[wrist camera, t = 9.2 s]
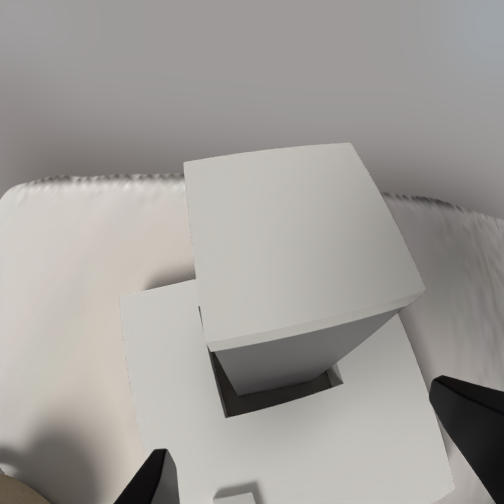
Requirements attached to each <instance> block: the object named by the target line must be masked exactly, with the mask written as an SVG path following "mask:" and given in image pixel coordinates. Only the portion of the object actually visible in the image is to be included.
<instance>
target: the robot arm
mask: <svg viewBox="0 0 504 504" xmlns="http://www.w3.org/2000/svg"><path fill="white" fill-rule="evenodd" d="M429 401H430V403H431V405H432V407H433V409H434V410H435V412H436V414H437V416H438V417H439V419H440V421H441V423H442V425H443V427H444V428H445V430H446V432H447V433H448V435H449V436H450V437H451V439H452V440H453V442H454V443H455V444H456V446H457V447H458V449H459V450H460V451H461V453H462V454H463V456H464V457H465V459H466V460H467V461H468V463H469V464H470V466H471V467H472V469H473V470H474V472H475V473H476V475H477V476H478V477H479V479H480V480H481V482H482V483H483V485H484V486H485V488H486V489H487V491H488V492H489V494H490V495H491V497H492V498H493V500H494V502H495V503H496V504H504V392H502V391H499V390H495V389H491V388H487V387H483V386H480V385H476V384H472V383H469V382H465V381H462V380H458V379H455V378H451V377H448V376H444V375H441V376H439V377H437V378H435V379H433V381H432V383H431V388H430V393H429ZM114 504H180V498H179V489H178V479H177V468H176V464H175V462H174V460H173V458H172V456H171V454H170V452H169V451H168V449H166V448H160V449H154V450H153V451H152V453H151V454H150V455H149V457H148V458H147V459H146V461H145V462H144V464H143V465H142V466H141V468H140V469H139V470H138V472H137V473H136V474H135V476H134V477H133V478H132V480H131V481H130V482H129V484H128V485H127V486H126V488H125V489H124V490H123V492H122V493H121V494H120V496H119V497H118V498H117V500H116V501H115V502H114Z"/></svg>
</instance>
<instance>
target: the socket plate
mask: <svg viewBox="0 0 504 504" xmlns="http://www.w3.org/2000/svg"><path fill="white" fill-rule="evenodd" d="M119 304H120V315H121V325H122V334H123V342H124V350H125V357H126V364H127V370H128V377H129V383H130V388H131V394H132V399H133V405H134V410H135V415H136V419H137V424H138V429H139V433H140V437H141V442H142V446H143V450H144V454H145V458H146V459H147V458H148V457H149V455H150V454H151V453H152V451H153V450H154V449H160V448H166V449H168V451H169V452H170V454H171V456H172V458H173V460H174V462H175V464H176V468H177V479H178V489H179V498H180V504H433V503H435V502H436V501H438V500H439V499H441V498H443V497H444V496H446V495H447V494H449V493H450V492H452V491H453V490H455V487H454V482H453V478H452V473H451V469H450V465H449V461H448V457H447V454H446V450H445V446H444V442H443V439H442V435H441V432H440V429H439V425H438V422H437V419H436V415H435V412H434V409H433V407H432V405H431V403H430V401H429V394H428V391H427V388H426V385H425V382H424V379H423V376H422V374H421V371H420V368H419V365H418V363H417V360H416V357H415V355H414V352H413V350H412V347H411V344H410V342H409V339H408V337H407V334H406V332H405V329H404V327H403V325H402V322H401V320H400V317H399V315H398V313H397V314H396V315H395V316H393V317H392V318H391V319H390V320H389V321H388V322H387V323H385V324H384V325H383V326H382V327H381V328H379V329H378V330H377V331H376V332H375V333H373V334H372V335H371V336H370V337H369V338H367V339H366V340H365V341H364V342H362V343H361V344H360V345H359V346H357V347H356V348H355V349H354V350H352V351H351V352H350V353H349V354H347V355H346V356H345V357H343V358H342V359H341V360H339V361H338V362H337V363H335V364H334V365H333V366H331V367H330V368H329V369H327V373H328V376H329V379H330V382H331V385H332V388H330V389H327V390H324V391H321V392H318V393H315V394H312V395H309V396H306V397H303V398H300V399H296V400H293V401H290V402H286V403H283V404H280V405H276V406H273V407H269V408H265V409H261V410H258V411H254V412H250V413H246V414H242V415H237V416H233V417H229V418H228V414H227V410H226V407H225V403H224V399H223V396H222V392H221V388H220V384H219V380H218V376H217V372H216V368H215V364H214V360H213V356H212V352H211V351H210V349H209V348H208V346H207V344H206V342H205V336H204V330H203V323H202V317H201V310H200V303H199V296H198V289H197V282H196V279H193V280H189V281H184V282H180V283H176V284H171V285H167V286H162V287H158V288H154V289H149V290H145V291H140V292H136V293H131V294H127V295H123V296H119Z"/></svg>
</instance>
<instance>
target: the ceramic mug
mask: <svg viewBox="0 0 504 504" xmlns="http://www.w3.org/2000/svg"><path fill="white" fill-rule="evenodd" d="M0 504H51V503H50V502H49V501H47V500H46V499H45V498H44V497H43V496H41V495H40V494H39V493H38V492H36V491H35V490H33V489H32V488H31V487H29V486H27V485H26V484H24V483H22V482H20V481H18V480H16V479H15V478H12V477H10V476H7V475H5V474H4V472H3V471H2V470H1V469H0Z"/></svg>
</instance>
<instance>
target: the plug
mask: <svg viewBox="0 0 504 504" xmlns="http://www.w3.org/2000/svg"><path fill="white" fill-rule="evenodd" d="M184 175H185V186H186V196H187V206H188V216H189V225H190V234H191V243H192V251H193V259H194V267H195V275H196V282H197V289H198V296H199V303H200V310H201V317H202V323H203V330H204V336H205V342H206V344H207V346H208V348H209V349H210V351H211V352H213V351H214V352H215V354H216V356H217V358H218V360H219V362H220V364H221V366H222V367H223V369H224V371H225V373H226V375H227V377H228V379H229V380H230V382H231V384H232V386H233V388H234V390H235V391H236V393H237V395H238V397H240V396H246V395H251V394H256V393H261V392H266V391H271V390H275V389H280V388H284V387H289V386H293V385H297V384H301V383H305V382H309V381H312V380H313V379H315V378H316V377H318V376H319V375H320V374H322V373H323V372H325V371H326V370H327V369H329V368H330V367H331V366H333V365H334V364H335V363H337V362H338V361H339V360H341V359H342V358H343V357H345V356H346V355H347V354H349V353H350V352H351V351H352V350H354V349H355V348H356V347H357V346H359V345H360V344H361V343H362V342H364V341H365V340H366V339H367V338H369V337H370V336H371V335H372V334H373V333H375V332H376V331H377V330H378V329H379V328H381V327H382V326H383V325H384V324H385V323H387V322H388V321H389V320H390V319H391V318H392V317H393V316H395V315H396V314H397V313H398V312H399V311H400V310H401V309H402V308H404V307H405V306H407V305H410V304H412V303H413V302H414V301H415V300H416V299H417V298H419V297H420V296H421V295H422V294H423V293H424V292H425V291H426V287H425V285H424V283H423V280H422V278H421V276H420V273H419V271H418V269H417V266H416V264H415V262H414V260H413V258H412V255H411V253H410V251H409V249H408V247H407V245H406V243H405V240H404V238H403V236H402V234H401V232H400V230H399V228H398V226H397V224H396V222H395V220H394V218H393V216H392V214H391V213H390V211H389V209H388V207H387V205H386V203H385V201H384V199H383V197H382V196H381V194H380V192H379V190H378V188H377V187H376V185H375V183H374V181H373V180H372V178H371V176H370V174H369V173H368V171H367V169H366V168H365V166H364V164H363V162H362V161H361V159H360V157H359V156H358V154H357V152H356V151H355V149H354V148H353V146H352V144H351V143H335V144H323V145H309V146H299V147H288V148H279V149H270V150H262V151H254V152H247V153H239V154H233V155H225V156H219V157H212V158H206V159H201V160H195V161H189V162H184Z"/></svg>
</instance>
